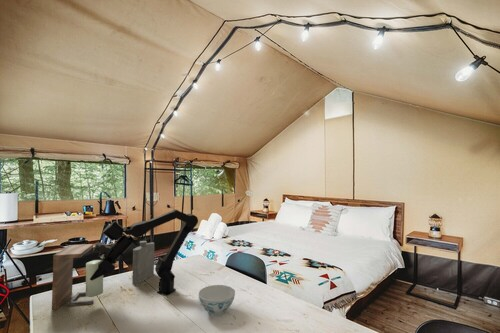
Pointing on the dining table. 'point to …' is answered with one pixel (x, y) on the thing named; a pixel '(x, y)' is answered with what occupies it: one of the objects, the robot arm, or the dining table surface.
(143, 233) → the robot arm
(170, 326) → the dining table surface
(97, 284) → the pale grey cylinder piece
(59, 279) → the walnut overhang
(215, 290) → the chinaware
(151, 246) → the hip flask
